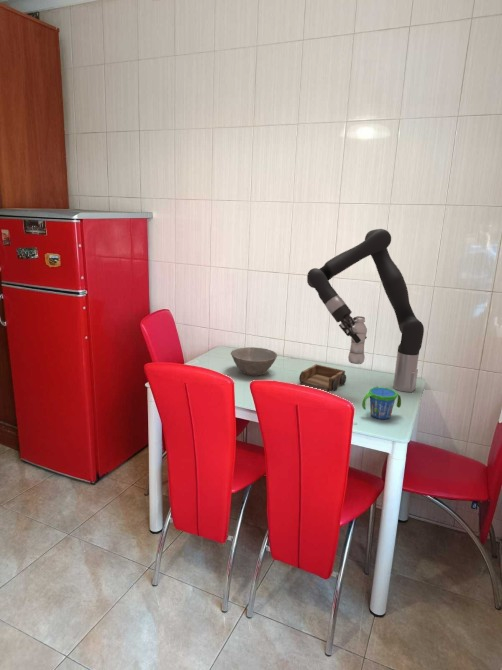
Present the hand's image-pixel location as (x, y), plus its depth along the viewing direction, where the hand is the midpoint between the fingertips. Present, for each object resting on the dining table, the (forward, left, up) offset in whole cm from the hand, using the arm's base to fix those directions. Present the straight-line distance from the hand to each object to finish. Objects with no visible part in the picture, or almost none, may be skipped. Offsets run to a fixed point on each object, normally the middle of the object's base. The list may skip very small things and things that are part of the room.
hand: (362, 340), depth 192 cm
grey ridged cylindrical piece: (+2, 0, -11) cm, 11 cm away
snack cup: (-14, +11, -26) cm, 32 cm away
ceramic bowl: (+53, +1, -26) cm, 59 cm away
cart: (+20, -5, -26) cm, 33 cm away
